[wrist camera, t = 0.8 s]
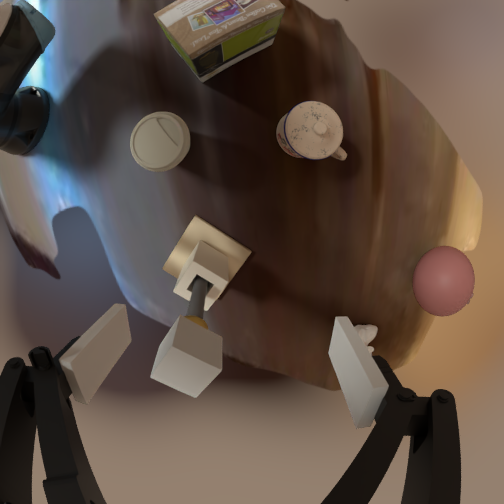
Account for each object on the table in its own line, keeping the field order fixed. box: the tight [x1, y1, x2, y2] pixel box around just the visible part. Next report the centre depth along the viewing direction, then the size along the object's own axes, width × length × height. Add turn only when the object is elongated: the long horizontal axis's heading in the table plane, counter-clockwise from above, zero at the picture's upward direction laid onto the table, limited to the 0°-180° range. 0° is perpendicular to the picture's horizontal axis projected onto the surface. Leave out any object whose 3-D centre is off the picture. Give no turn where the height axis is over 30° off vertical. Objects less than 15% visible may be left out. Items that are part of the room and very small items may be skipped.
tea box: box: [154, 0, 285, 83], centre depth 30 cm, size 15×10×15 cm
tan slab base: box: [162, 215, 251, 301], centre depth 50 cm, size 12×12×1 cm
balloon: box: [413, 246, 475, 316], centre depth 49 cm, size 15×20×15 cm
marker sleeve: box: [173, 240, 228, 311], centre depth 44 cm, size 6×6×10 cm
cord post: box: [151, 274, 222, 398], centre depth 36 cm, size 5×5×28 cm
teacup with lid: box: [276, 101, 347, 160], centre depth 39 cm, size 12×9×12 cm
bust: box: [354, 324, 378, 355], centre depth 55 cm, size 12×8×11 cm
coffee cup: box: [130, 112, 190, 172], centre depth 37 cm, size 8×9×12 cm
